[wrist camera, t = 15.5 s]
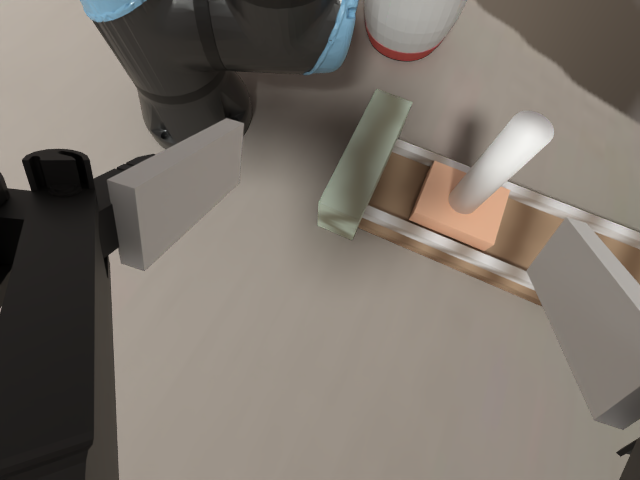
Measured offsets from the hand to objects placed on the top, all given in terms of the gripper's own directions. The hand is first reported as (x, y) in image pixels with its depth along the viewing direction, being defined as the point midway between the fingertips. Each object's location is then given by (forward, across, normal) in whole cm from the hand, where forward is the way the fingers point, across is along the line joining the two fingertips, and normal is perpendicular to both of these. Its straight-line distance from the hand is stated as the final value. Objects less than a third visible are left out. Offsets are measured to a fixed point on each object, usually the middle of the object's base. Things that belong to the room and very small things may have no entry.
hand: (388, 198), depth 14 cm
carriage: (+29, +11, -12) cm, 34 cm away
